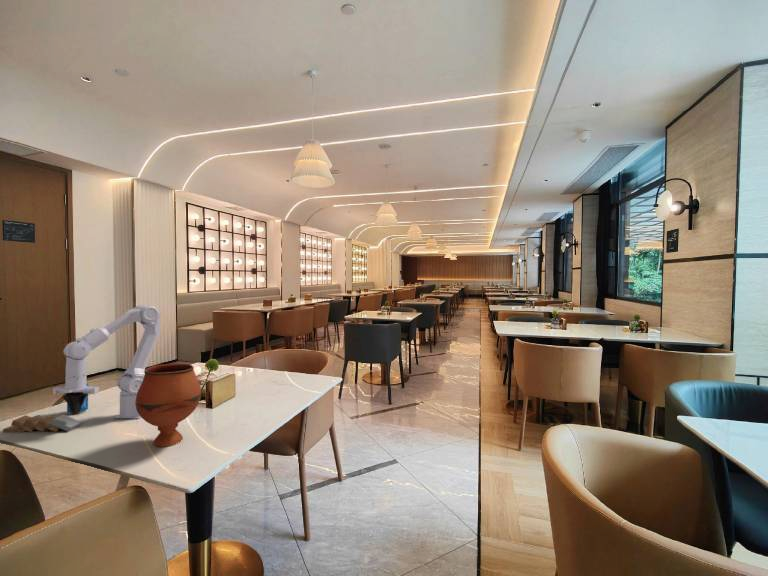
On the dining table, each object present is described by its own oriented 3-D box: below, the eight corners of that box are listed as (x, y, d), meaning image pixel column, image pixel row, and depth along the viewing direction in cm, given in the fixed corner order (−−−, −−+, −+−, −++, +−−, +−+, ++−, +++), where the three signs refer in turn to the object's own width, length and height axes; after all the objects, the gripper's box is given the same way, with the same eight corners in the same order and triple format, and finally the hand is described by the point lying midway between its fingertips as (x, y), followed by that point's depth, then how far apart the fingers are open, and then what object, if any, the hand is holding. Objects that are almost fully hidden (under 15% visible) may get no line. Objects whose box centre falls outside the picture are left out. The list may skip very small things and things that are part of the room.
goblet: (172, 457, 109) (173, 376, 109) (118, 451, 112) (119, 372, 112) (212, 432, 128) (213, 363, 128) (165, 427, 131) (166, 360, 131)
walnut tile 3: (57, 422, 131) (38, 414, 130) (45, 427, 126) (25, 419, 125) (55, 426, 131) (36, 418, 130) (43, 431, 126) (23, 424, 125)
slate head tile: (81, 422, 131) (63, 414, 131) (70, 427, 126) (51, 419, 126) (79, 426, 131) (61, 418, 131) (68, 431, 126) (49, 423, 126)
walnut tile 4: (45, 422, 130) (25, 415, 130) (33, 427, 125) (12, 420, 125) (43, 426, 130) (23, 419, 130) (31, 432, 125) (10, 424, 125)
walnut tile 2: (70, 422, 131) (51, 415, 130) (58, 427, 126) (39, 420, 125) (68, 426, 131) (50, 419, 130) (56, 432, 126) (37, 424, 125)
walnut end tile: (37, 423, 130) (16, 423, 130) (24, 428, 125) (2, 429, 125) (37, 427, 130) (16, 428, 130) (24, 433, 125) (2, 433, 125)
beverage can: (75, 415, 141) (76, 385, 141) (62, 414, 142) (63, 384, 142) (92, 410, 148) (92, 381, 147) (79, 408, 149) (79, 380, 149)
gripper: (45, 378, 124) (44, 417, 124) (88, 378, 125) (87, 417, 125) (62, 373, 131) (62, 410, 131) (103, 373, 132) (102, 410, 132)
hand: (75, 413), depth 129 cm, fingers closed
